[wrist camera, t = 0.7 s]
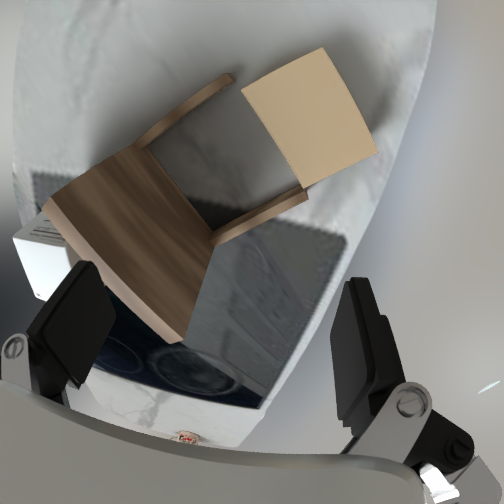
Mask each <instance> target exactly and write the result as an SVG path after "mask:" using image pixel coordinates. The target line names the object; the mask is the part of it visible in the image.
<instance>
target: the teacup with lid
mask: <svg viewBox="0 0 504 504" xmlns="http://www.w3.org/2000/svg"><path fill="white" fill-rule="evenodd" d="M172 438H177V440H176V441H177V442H182V443H188V444H193V445H198V441H199V436H198V435H196V434H194V433H191V432H187V431H179V432H178V436H172V437H170V438H169V440H171V439H172Z"/></svg>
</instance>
